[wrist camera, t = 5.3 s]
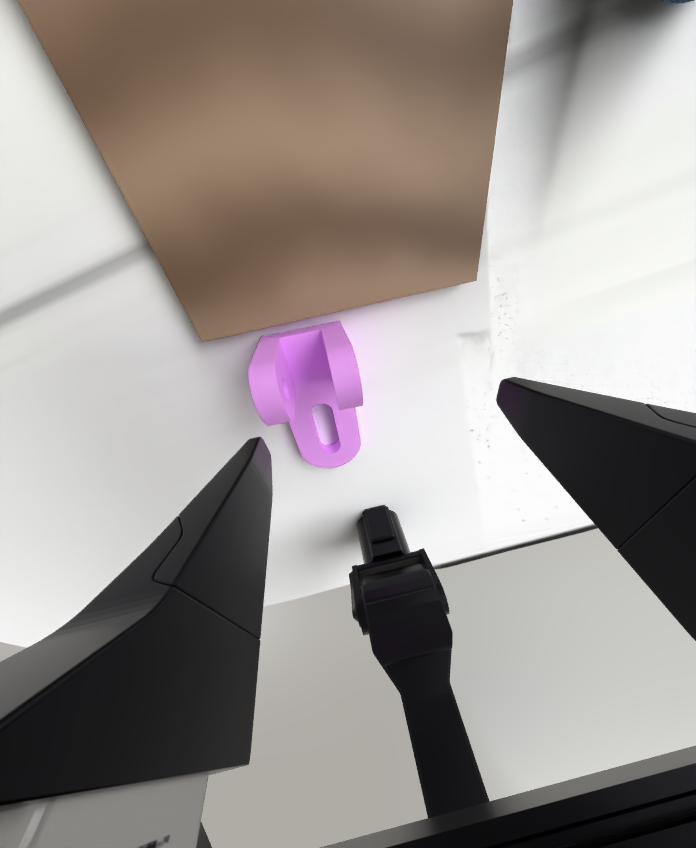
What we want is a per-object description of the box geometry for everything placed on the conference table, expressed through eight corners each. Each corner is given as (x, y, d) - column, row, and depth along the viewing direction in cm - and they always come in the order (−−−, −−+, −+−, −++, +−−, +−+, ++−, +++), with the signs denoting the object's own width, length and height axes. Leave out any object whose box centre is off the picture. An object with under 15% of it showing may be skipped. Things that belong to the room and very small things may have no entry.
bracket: (261, 335, 17) (243, 380, 12) (339, 320, 17) (357, 356, 12) (307, 463, 25) (309, 525, 20) (360, 451, 25) (378, 509, 20)
